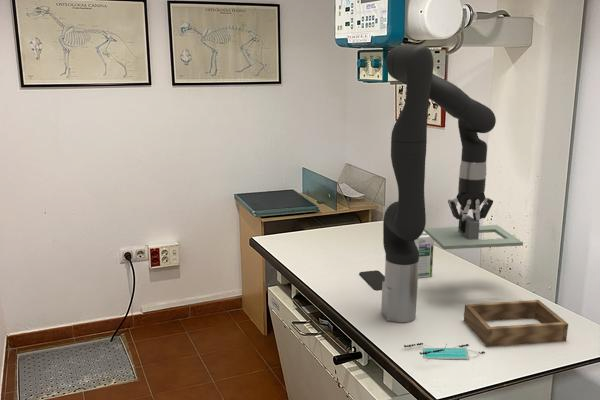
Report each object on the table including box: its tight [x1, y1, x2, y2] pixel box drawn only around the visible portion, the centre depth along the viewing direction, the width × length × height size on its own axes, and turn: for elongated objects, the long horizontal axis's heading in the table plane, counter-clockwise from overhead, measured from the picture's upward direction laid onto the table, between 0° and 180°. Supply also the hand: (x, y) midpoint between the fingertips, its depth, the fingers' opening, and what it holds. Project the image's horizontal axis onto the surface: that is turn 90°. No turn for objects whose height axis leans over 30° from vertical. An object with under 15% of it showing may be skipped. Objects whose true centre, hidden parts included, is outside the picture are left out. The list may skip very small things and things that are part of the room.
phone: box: [358, 270, 385, 291], centre depth 196 cm, size 7×1×15 cm
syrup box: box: [414, 231, 435, 279], centre depth 199 cm, size 6×6×14 cm
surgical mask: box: [403, 342, 486, 362], centre depth 150 cm, size 21×4×10 cm
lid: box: [423, 214, 524, 250], centre depth 179 cm, size 24×17×6 cm
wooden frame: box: [463, 299, 569, 348], centre depth 161 cm, size 22×15×5 cm
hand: (468, 231), depth 179 cm, fingers closed on lid, 3 cm apart
